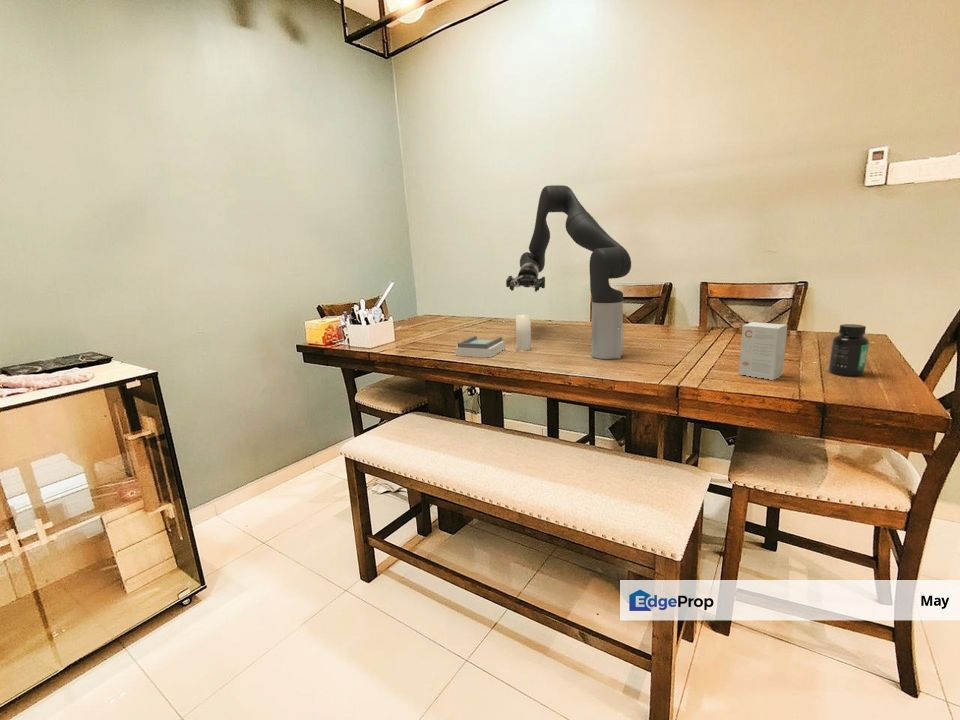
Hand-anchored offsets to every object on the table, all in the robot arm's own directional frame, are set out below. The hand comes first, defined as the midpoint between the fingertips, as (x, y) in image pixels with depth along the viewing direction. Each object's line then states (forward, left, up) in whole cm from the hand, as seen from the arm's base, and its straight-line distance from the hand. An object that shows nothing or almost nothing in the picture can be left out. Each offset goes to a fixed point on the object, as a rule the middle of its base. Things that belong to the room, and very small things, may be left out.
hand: (523, 288), depth 157 cm
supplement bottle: (-90, +17, -21) cm, 94 cm away
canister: (-2, +8, -20) cm, 22 cm away
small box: (-71, +24, -21) cm, 78 cm away
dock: (+11, +16, -20) cm, 28 cm away
